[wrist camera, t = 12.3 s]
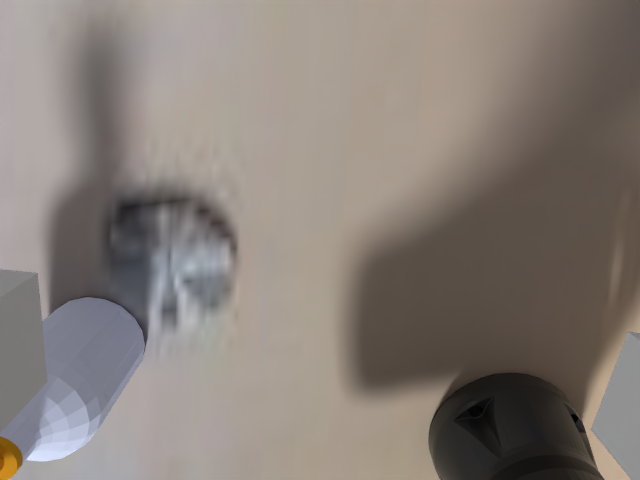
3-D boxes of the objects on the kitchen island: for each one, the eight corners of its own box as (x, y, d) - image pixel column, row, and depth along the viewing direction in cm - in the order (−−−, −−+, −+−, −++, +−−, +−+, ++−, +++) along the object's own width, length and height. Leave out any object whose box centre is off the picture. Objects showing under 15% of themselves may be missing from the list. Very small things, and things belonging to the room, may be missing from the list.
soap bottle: (61, 380, 44) (-225, 709, 21) (40, 296, 41) (-322, 568, 18) (152, 377, 44) (-31, 702, 21) (137, 293, 41) (-96, 560, 18)
